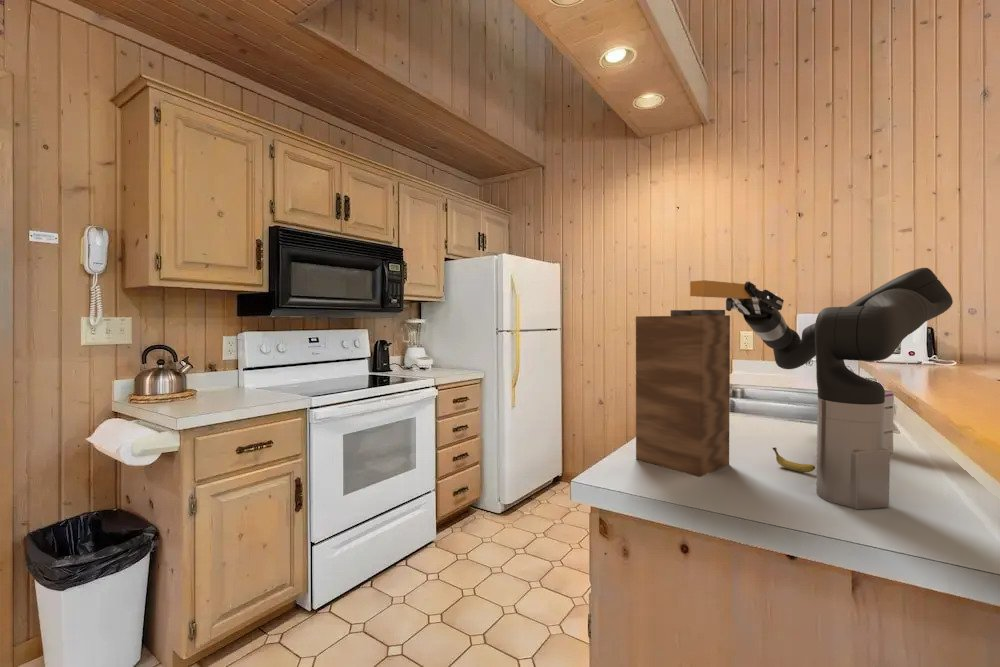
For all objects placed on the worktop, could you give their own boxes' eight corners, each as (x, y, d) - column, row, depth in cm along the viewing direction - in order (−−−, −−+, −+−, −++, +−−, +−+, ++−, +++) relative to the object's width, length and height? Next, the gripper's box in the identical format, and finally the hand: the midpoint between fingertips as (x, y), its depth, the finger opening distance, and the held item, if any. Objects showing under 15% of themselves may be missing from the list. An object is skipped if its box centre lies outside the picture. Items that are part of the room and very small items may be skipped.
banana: (770, 466, 99) (770, 447, 99) (774, 464, 100) (775, 446, 99) (813, 477, 92) (813, 457, 92) (817, 475, 93) (817, 455, 93)
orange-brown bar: (742, 298, 116) (742, 285, 116) (755, 298, 113) (755, 285, 113) (690, 296, 101) (690, 281, 101) (704, 295, 98) (704, 280, 98)
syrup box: (894, 453, 107) (895, 390, 106) (878, 456, 105) (879, 392, 104) (867, 446, 112) (867, 386, 112) (851, 449, 110) (851, 388, 110)
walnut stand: (666, 449, 112) (666, 311, 110) (729, 464, 100) (729, 309, 99) (636, 459, 104) (635, 311, 103) (699, 476, 92) (700, 309, 91)
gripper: (792, 334, 114) (766, 297, 104) (734, 333, 125) (705, 299, 115) (799, 307, 116) (773, 269, 106) (741, 308, 127) (713, 274, 118)
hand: (738, 285), depth 111 cm, fingers closed on orange-brown bar, 3 cm apart
